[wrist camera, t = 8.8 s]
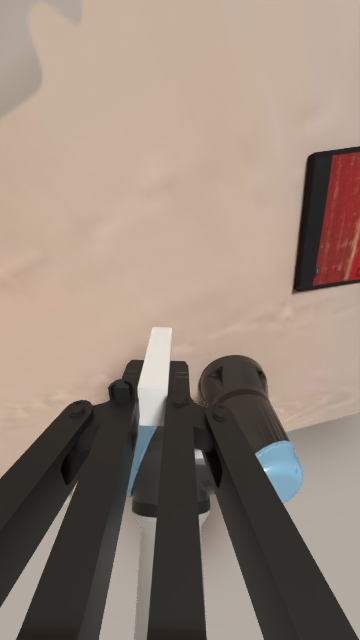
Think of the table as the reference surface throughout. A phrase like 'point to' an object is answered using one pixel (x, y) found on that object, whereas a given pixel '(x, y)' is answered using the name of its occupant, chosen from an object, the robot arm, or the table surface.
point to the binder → (330, 221)
